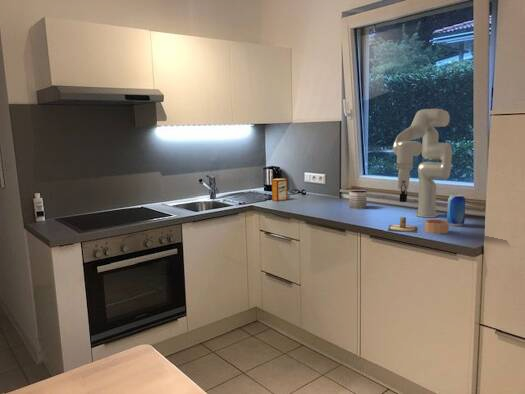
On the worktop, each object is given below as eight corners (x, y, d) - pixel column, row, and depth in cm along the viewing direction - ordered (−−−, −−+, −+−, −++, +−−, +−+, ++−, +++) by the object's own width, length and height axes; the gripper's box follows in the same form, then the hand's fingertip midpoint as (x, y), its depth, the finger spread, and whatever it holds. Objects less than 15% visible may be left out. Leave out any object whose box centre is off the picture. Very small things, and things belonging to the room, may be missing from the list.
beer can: (459, 223, 233) (460, 193, 231) (467, 226, 225) (468, 196, 222) (444, 223, 233) (445, 194, 231) (451, 226, 225) (452, 196, 222)
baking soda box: (282, 199, 325) (281, 177, 322) (287, 200, 320) (287, 178, 317) (272, 200, 319) (271, 179, 317) (277, 201, 314) (277, 179, 312)
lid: (390, 225, 229) (391, 214, 228) (415, 226, 225) (416, 215, 224) (389, 230, 217) (389, 219, 216) (415, 232, 213) (415, 220, 212)
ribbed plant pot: (347, 208, 280) (348, 190, 279) (350, 205, 291) (350, 188, 289) (365, 209, 277) (366, 191, 275) (367, 206, 287) (367, 188, 286)
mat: (389, 225, 230) (389, 225, 230) (417, 227, 225) (417, 226, 225) (387, 231, 217) (387, 231, 217) (417, 233, 212) (417, 232, 212)
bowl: (424, 228, 221) (425, 218, 221) (447, 230, 218) (448, 220, 217) (425, 233, 211) (425, 223, 211) (449, 235, 208) (449, 224, 207)
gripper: (397, 165, 225) (396, 197, 228) (395, 167, 209) (394, 202, 211) (412, 165, 223) (411, 198, 225) (412, 167, 207) (410, 203, 209)
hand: (403, 200), depth 218 cm, fingers open, 9 cm apart
